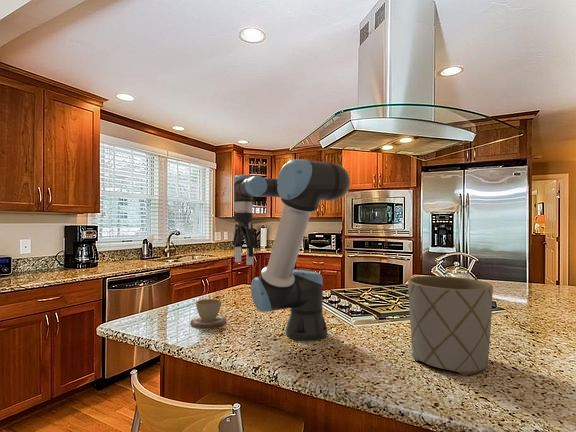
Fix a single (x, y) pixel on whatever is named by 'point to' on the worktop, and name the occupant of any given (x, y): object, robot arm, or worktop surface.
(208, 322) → the disc
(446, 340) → the planter
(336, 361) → the worktop surface
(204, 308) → the flower pot
